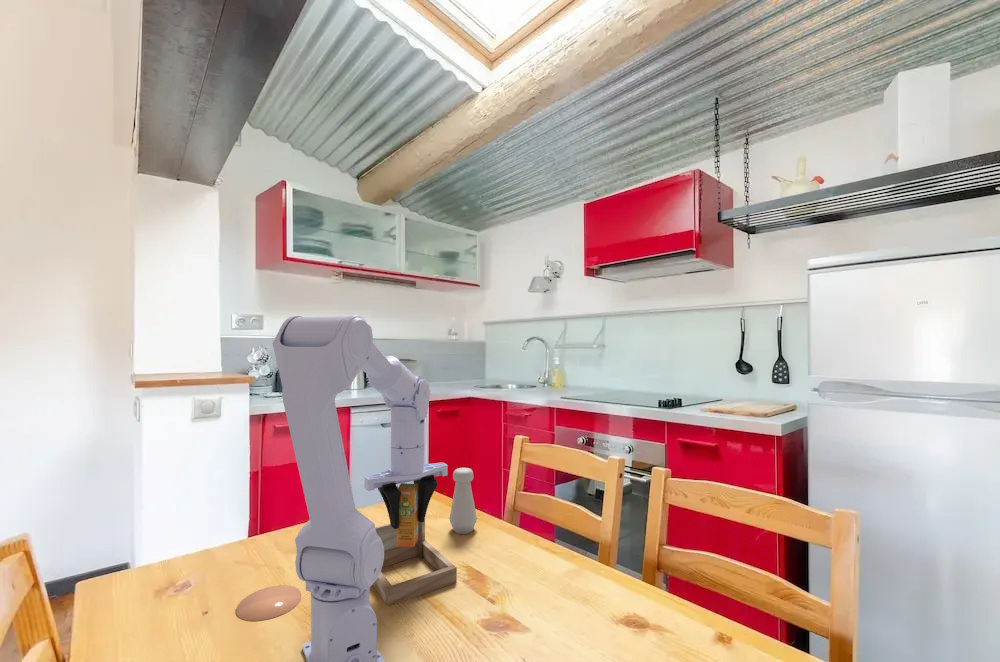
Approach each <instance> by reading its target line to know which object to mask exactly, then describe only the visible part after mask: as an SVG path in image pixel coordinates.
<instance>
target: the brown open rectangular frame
mask: <svg viewBox="0 0 1000 662" xmlns="http://www.w3.org/2000/svg"><path fill="white" fill-rule="evenodd" d="M375 529H376V533H377V535H378V536H379V537H380V538H381V540H382V543H383V546H384V561H383V566H382V568H384V567H387V566H391V565H393V564H397V563H401V562H404V561H406V560H410V559H414V558H417V557H418V559H423V558H424V560H426V561H427V562H428V563H429V564H430V565H431V566H432V567H433V568H434V569H435V571H432V572H428V573H426V574H425V573H424V574H422V575H419V576H416V577H414V578H411V579H407V580H405V581H402V582H399V583H395V584H393V585H392V584H391V582H390V581H389V580H388V578H387V577H386V576H385V574H384V573H383V572H382V571H381V572H380V574H379V576H378V578H377V580H376V581H375V582H374V583H373V585H372V587H373V588H374V589H375V591H376V592H377V593H378V595H379V596H380V598H382V600H383V601H384V602H385V604H386V605H387V606H388V607H390V606H392V605H396V604H398V603H401V602H404V601H408V600H410V599H413V598H416V597H419V596H422V595H425V594H428V593H430V592H433V591H436V590H439V589H442V588H445V587H448V586H450V585H453V584H455V583H457V579H458V577H457V573H458V571H457V569H458V568H457V566H456V565H454V564H453V562H451V561H450V560H449V559H448V558H447V557H446V556H444V555H443V554H442V553H441V552H440V551H439V550H437V548H435V547H434V546H433V545H432V544H430V543H429V542H428V541H427V540H426V519H425V520H424V522H419V521H418V539H417V541H416V544H415V546H414V547H397V544H396V531H397V529H394V528H393V527H392V526H391V525H390V523H388V524H384V525H383V524H382V525H380V526H375Z"/></svg>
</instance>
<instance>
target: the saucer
mask: <svg viewBox="0 0 1000 662" xmlns="http://www.w3.org/2000/svg"><path fill="white" fill-rule="evenodd" d="M301 600H302V591H301V590H300V589H299V588H297V587H296V586H292V585H288V584H287V585H286V584H284V585H282V584H280V585H273V586H268V587H264V588H261V589H259V590H257V591H253V592H252V593H251V594H249V595H247V596H245V597H244V598H243V599H242V600H241V601H240V602H239V603H238V604H237V606H236V609H235V610H236V611H235V613H236V614H235V615H236V616H237V617H239V619H240V620H244V621H247V622H261V621H267V620H272V619H275V618H278V617H280V616H283V615H285V614H287V613H289V612H291V611H292V610H293V609H295V608H296V607H297V606H298V605H299V603H301Z"/></svg>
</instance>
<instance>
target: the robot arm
mask: <svg viewBox="0 0 1000 662" xmlns="http://www.w3.org/2000/svg"><path fill="white" fill-rule="evenodd" d="M272 347H273V351H274V356H275V360H276V365H277V369H278V370H277V371H278V374H279V378H280V382H281V387H282V388H281V389H282V390H281V391H282V392H281V393H282V394H281V396H282V403H283V406H284V407H283V408H284V411H285V416H286V421H287V424H288V429H289V433H290V439H291V441H292V447H293V451H294V456H295V460H296V464H297V465H296V466H297V469H298V472H299V477H300V482H301V485H302V486H301V487H302V490H303V495H304V501H305V503H306V507H307V508H306V509H307V513H308V516H309V519H308V520H307V522H306V523H305V524H304V525H303V526H301V528H300V530H299V532H298V534H297V535H296V537H295V539H294V542H295V548H296V556H295V572H296V576H297V577H298V578H299V579H300V580H301V581H302V582H305V591H306V592H309V593H310V641H307V642H305V643H303V644H302V651H303V653H304V657H305V659H306V662H385V661H386V660H385V659H384V656H383V655H382V654H381V652H380V651H379V648H378V620H377V615H376V613H375V611H374V609H373V607H372V605H371V602H370V598H371V597H370V592H371V591H370V588H371V587H373V583H374V582H375V581H376V580H377V578H378V576H379V574H380V572H382V569H383V567H382V566H383V561H384V546H383V543H382V540H381V538H380V537H379V536H378V535H377V533H376V529H375V527H376V525H375V523H374V522H373V521H372V520H371V519H369V518H368V517H367V516H365V514H363V513H361V511H359V510H358V509H357V508H356V506H355V499H354V494H353V489H352V484H351V480H350V479H351V478H350V474H349V469H348V468H349V467H348V463H347V462H348V461H347V458H346V454H345V448H344V442H343V437H342V432H341V427H340V421H339V415H338V411H337V406H336V397H337V395H338V394H341V393H342V392H344V391H346V390H348V389H349V388H350V387H351V385H352V384H353V382H354V380H355V379H356V377H357V375H358V373H360V371H362V372H364V373H365V374H367V379H368V382H369V385H370V386H371V388H373V389H374V390H376V391H377V392H378V393H380V394H381V396H382V397H383V400H384V404H385V406H386V408H388V409H390V468H389V469H387V470H384V471H380V472H376V473H374V474H370V475H365V476H364V489H365V490H366V491H368V492H370V491H374V490H375V489H377V490H378V492H379V493H380V496H381V498H382V500H383V502H384V505H385V508H386V511H387V514H388V517H389V524H390V525H391V526H392V527H393V528H394V529H398V528H399V504H400V497H401V492H400V491H399V490H398V487H399V486H398V484H399V485H400V484H401V483H409V482H413V484H415V483H417V484H418V521H419V522H424V520H425V521H426V516H427V515H426V514H427V511H428V508H429V505H430V502H431V499H432V496H433V494H434V492H435V491H436V489H437V487H438V480H437V479H436V478H435V477H439V476H441V477H445V476H446V477H447V476H448V472H449V471H448V464H447V463H445V462H436V463H425V419H427V417H428V407H429V402H430V398H431V389H430V388H431V387H430V383H429V381H428V380H427V379H425V378H424V377H423V376H422V375H421V376H420V375H415V374H413V373H412V372H411V370H410V369H409V368H407V366H406V365H404V364H403V362H401V361H400V358H399V356H397V355H385V354H384V353H383V352H382V351H381V350H380V349H379V347H378V346H377V345H376V344H375V343H374V338H373V329H372V326H371V325H370V324H368V322H367V320H366V319H365V318H364V317H362V316H360V315H359V314H353V315H349V316H300V315H292V316H289V317H288V318H286V320H284V322H283V323H282V324H281V325H280V328H279V329H278V332H277V333H276V335H275V337H274V339H273V341H272Z"/></svg>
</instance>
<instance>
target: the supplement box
mask: <svg viewBox="0 0 1000 662" xmlns="http://www.w3.org/2000/svg"><path fill="white" fill-rule="evenodd" d="M398 490H399V491H400V492H401V497H400V504H399V528H398V529H397V531H396V544H397V547H414V546H415V544H416V541H417V539H418V484H417V483H415V484H414V483H408V482H405V483H400V484H399V486H398Z"/></svg>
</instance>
